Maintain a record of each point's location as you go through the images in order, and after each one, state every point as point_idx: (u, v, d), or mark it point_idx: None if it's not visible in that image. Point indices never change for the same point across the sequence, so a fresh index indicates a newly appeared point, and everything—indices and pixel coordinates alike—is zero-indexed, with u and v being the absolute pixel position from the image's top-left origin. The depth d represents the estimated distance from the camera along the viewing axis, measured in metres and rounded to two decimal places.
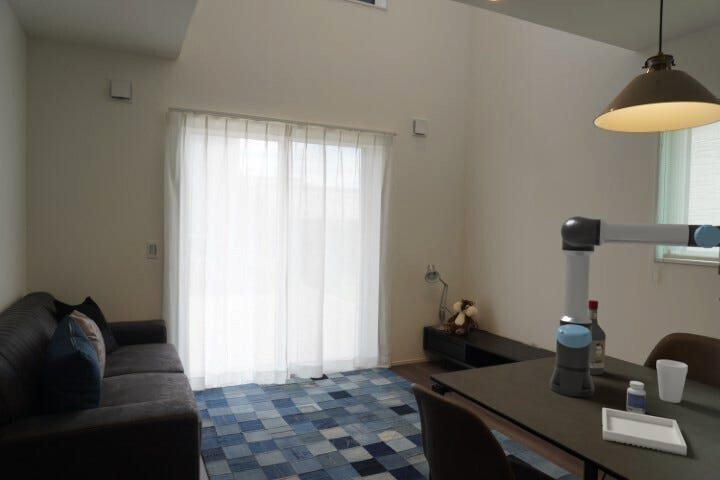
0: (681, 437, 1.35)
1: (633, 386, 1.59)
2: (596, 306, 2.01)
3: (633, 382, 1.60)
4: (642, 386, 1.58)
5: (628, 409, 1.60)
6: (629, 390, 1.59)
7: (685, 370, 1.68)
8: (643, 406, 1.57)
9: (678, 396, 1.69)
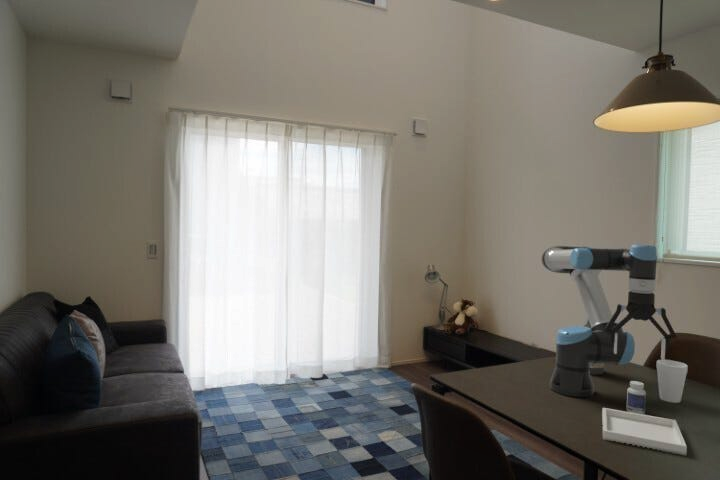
0: (681, 437, 1.35)
1: (633, 386, 1.59)
2: None
3: (633, 382, 1.60)
4: (642, 386, 1.58)
5: (628, 409, 1.60)
6: (629, 390, 1.59)
7: (685, 370, 1.68)
8: (643, 406, 1.57)
9: (678, 396, 1.69)
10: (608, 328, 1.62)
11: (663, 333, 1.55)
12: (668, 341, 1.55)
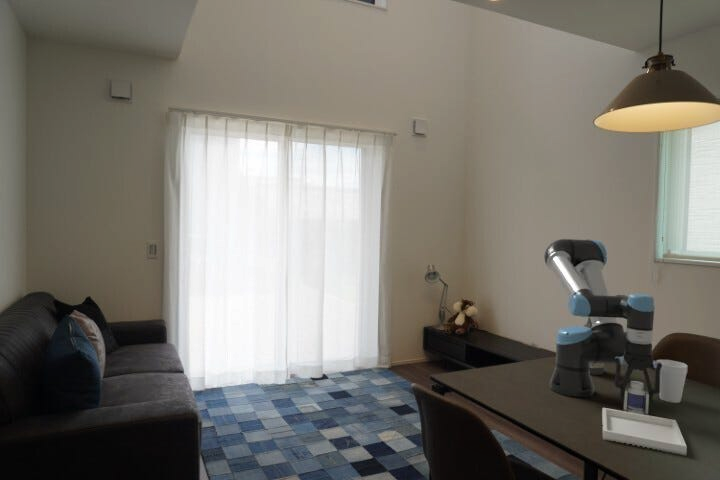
0: (681, 437, 1.35)
1: (633, 386, 1.59)
2: None
3: (633, 382, 1.60)
4: (642, 386, 1.58)
5: (628, 409, 1.60)
6: (629, 390, 1.59)
7: (685, 370, 1.68)
8: (643, 406, 1.57)
9: (678, 396, 1.69)
10: (617, 384, 1.61)
11: (649, 387, 1.57)
12: (651, 396, 1.57)
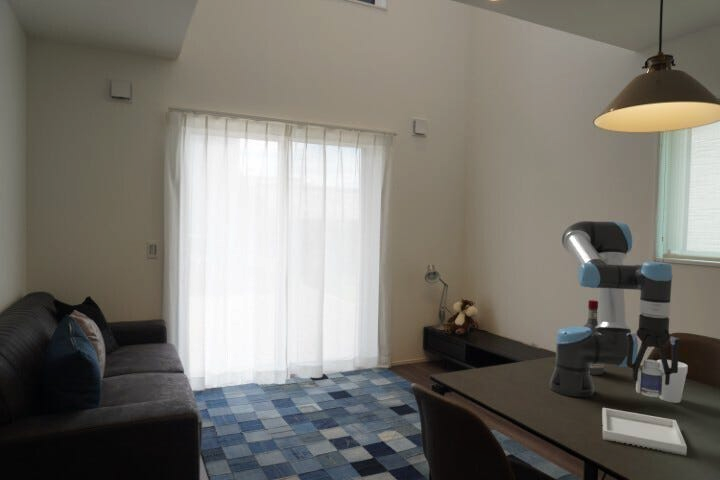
0: (681, 437, 1.35)
1: (648, 365, 1.40)
2: (596, 306, 2.01)
3: (648, 361, 1.42)
4: (658, 365, 1.40)
5: (642, 391, 1.41)
6: (643, 370, 1.41)
7: (685, 370, 1.68)
8: (659, 388, 1.40)
9: (678, 396, 1.69)
10: (630, 363, 1.43)
11: (665, 366, 1.39)
12: (668, 376, 1.39)
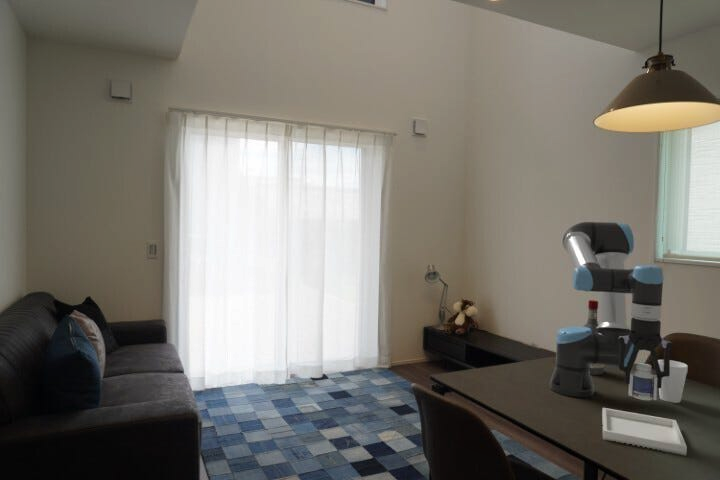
0: (681, 437, 1.35)
1: (639, 368, 1.41)
2: (596, 306, 2.01)
3: (639, 364, 1.42)
4: (650, 368, 1.40)
5: (634, 394, 1.42)
6: (635, 373, 1.42)
7: (685, 370, 1.68)
8: (651, 391, 1.40)
9: (678, 396, 1.69)
10: (622, 366, 1.44)
11: (657, 369, 1.40)
12: (660, 379, 1.40)
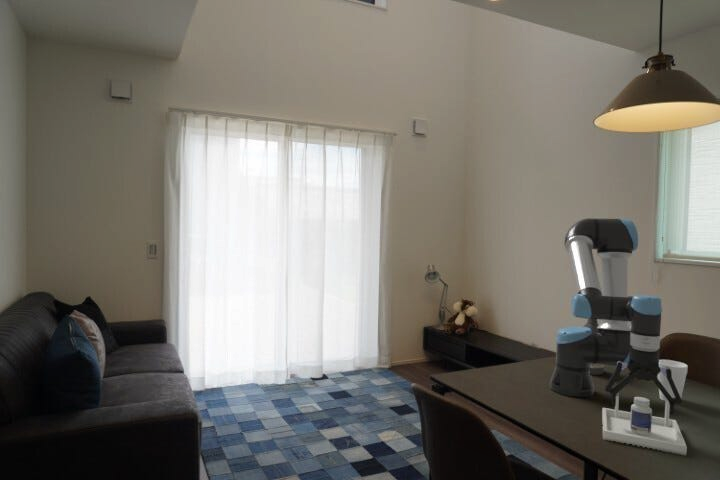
0: (681, 437, 1.35)
1: (638, 403, 1.41)
2: None
3: (638, 398, 1.43)
4: (648, 403, 1.41)
5: (632, 428, 1.42)
6: (633, 407, 1.42)
7: (685, 370, 1.68)
8: (649, 425, 1.40)
9: None
10: (608, 388, 1.45)
11: (667, 397, 1.39)
12: (673, 406, 1.39)
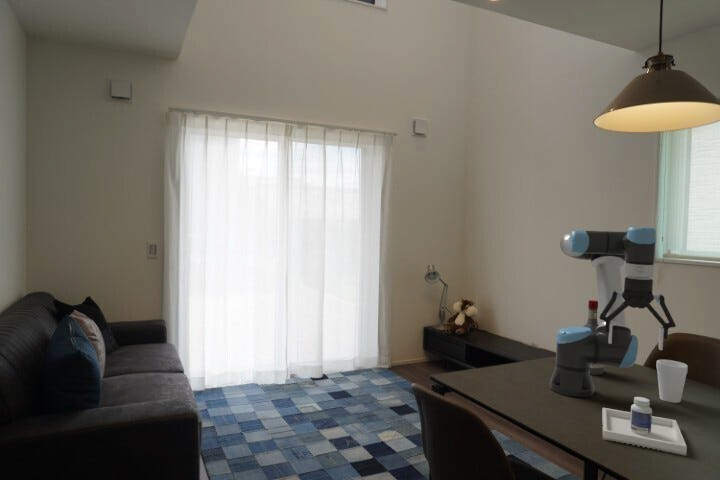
0: (681, 437, 1.35)
1: (638, 403, 1.41)
2: (596, 306, 2.01)
3: (638, 398, 1.43)
4: (648, 403, 1.41)
5: (632, 429, 1.42)
6: (633, 407, 1.42)
7: (685, 370, 1.68)
8: (649, 425, 1.40)
9: (678, 396, 1.69)
10: (603, 316, 1.51)
11: (661, 322, 1.45)
12: (666, 330, 1.45)
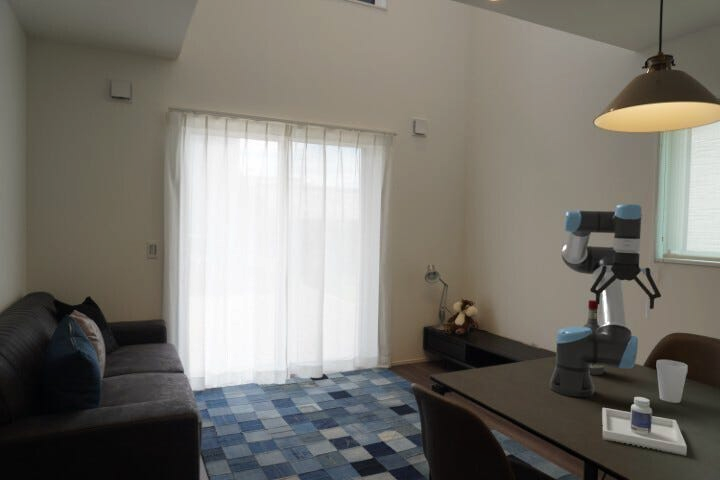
0: (681, 437, 1.35)
1: (638, 403, 1.41)
2: (596, 306, 2.01)
3: (638, 398, 1.43)
4: (648, 403, 1.41)
5: (632, 429, 1.42)
6: (633, 407, 1.42)
7: (685, 370, 1.68)
8: (649, 425, 1.40)
9: (678, 396, 1.69)
10: (593, 289, 1.61)
11: (648, 292, 1.54)
12: (653, 300, 1.54)
